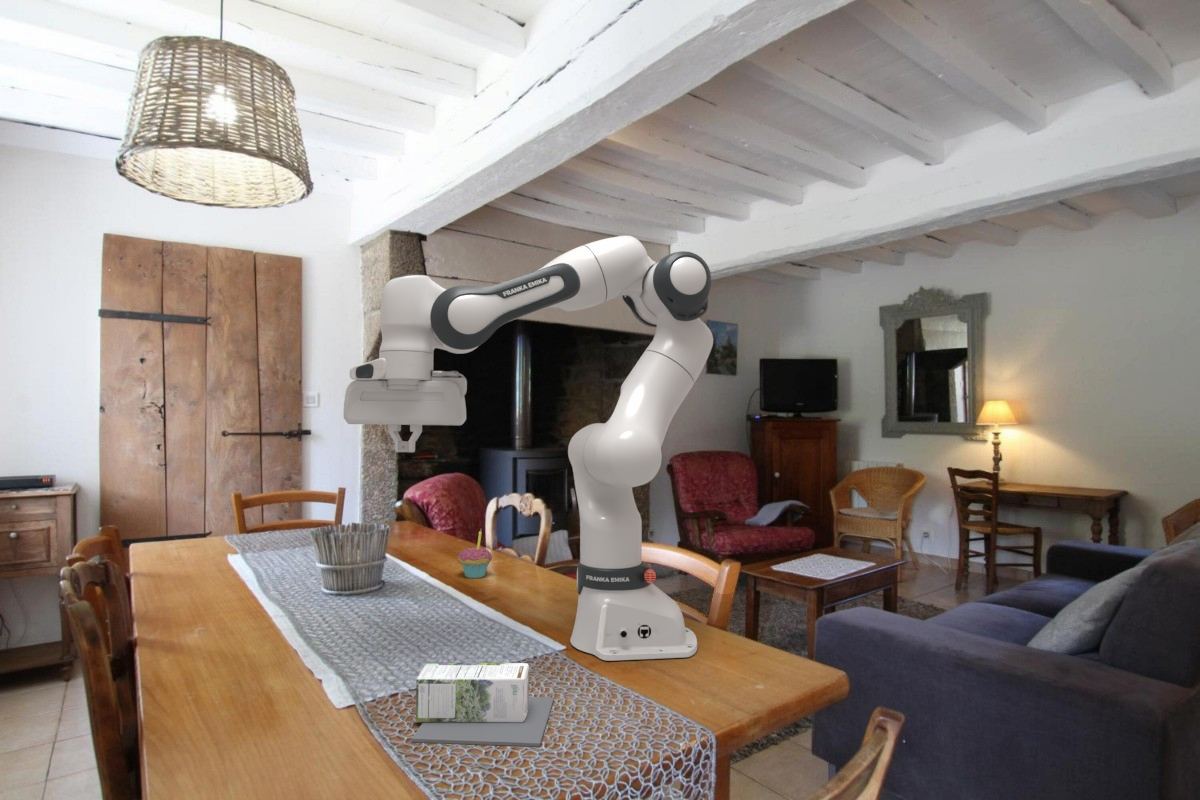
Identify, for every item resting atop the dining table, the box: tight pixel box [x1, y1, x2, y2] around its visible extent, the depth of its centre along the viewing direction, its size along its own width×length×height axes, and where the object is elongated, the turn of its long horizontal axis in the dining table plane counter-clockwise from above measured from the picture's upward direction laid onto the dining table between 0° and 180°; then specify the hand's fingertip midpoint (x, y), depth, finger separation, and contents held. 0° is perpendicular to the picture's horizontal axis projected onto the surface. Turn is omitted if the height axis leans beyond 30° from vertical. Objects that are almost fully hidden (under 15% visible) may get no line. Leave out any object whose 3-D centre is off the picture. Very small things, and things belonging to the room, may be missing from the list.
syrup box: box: [415, 662, 530, 723], centre depth 88 cm, size 6×6×14 cm
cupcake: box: [456, 529, 493, 579], centre depth 164 cm, size 9×8×12 cm
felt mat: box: [411, 696, 555, 748], centre depth 87 cm, size 16×13×1 cm
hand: (405, 452), depth 111 cm, fingers closed
